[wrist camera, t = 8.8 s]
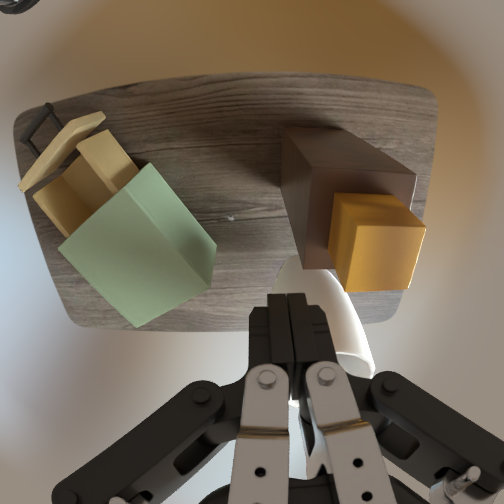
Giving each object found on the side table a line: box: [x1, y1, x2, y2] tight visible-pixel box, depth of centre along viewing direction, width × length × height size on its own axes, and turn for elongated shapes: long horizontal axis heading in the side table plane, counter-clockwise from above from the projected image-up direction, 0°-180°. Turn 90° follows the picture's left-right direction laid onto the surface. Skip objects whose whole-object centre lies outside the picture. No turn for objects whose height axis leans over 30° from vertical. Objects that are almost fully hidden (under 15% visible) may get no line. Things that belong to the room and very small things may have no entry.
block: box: [327, 193, 426, 292], centre depth 19 cm, size 5×5×5 cm
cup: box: [271, 255, 375, 408], centre depth 35 cm, size 10×10×22 cm
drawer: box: [18, 103, 140, 238], centre depth 32 cm, size 18×11×8 cm, turn 33°
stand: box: [280, 127, 417, 270], centre depth 29 cm, size 8×8×18 cm
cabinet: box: [58, 162, 217, 328], centre depth 37 cm, size 15×13×10 cm
